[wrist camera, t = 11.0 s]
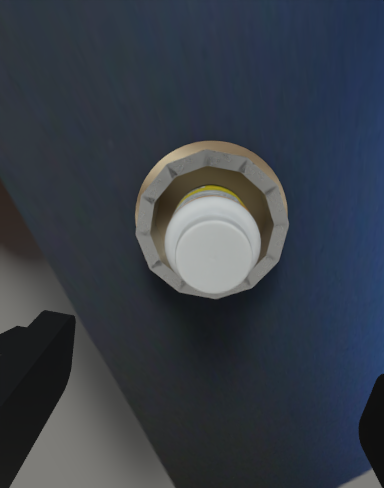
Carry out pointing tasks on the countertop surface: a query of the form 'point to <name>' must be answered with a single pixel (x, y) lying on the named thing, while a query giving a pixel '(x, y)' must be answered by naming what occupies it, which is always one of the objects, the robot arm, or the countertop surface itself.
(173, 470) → the countertop surface
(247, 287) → the white beige low ring
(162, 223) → the beige round plate
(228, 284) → the supplement bottle
